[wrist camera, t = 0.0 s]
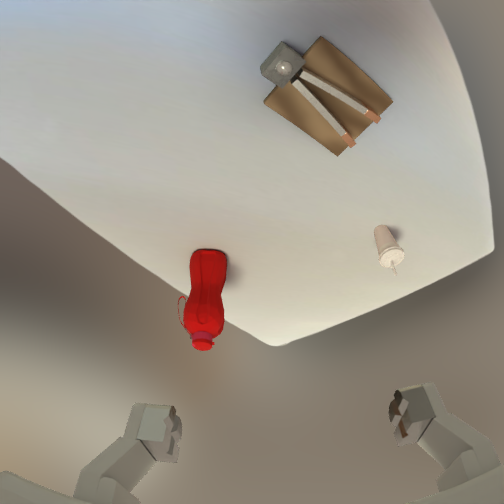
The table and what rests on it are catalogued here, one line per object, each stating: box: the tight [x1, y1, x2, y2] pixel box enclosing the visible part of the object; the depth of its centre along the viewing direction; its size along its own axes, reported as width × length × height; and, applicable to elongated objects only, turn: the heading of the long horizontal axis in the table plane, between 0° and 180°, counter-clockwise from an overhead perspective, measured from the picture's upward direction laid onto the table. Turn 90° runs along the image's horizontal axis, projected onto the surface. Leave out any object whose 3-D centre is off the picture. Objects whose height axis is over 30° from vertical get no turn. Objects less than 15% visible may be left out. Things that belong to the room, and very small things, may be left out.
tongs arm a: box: [297, 67, 381, 123], centre depth 47 cm, size 16×1×4 cm, turn 63°
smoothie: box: [374, 225, 404, 275], centre depth 70 cm, size 6×6×14 cm
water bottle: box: [179, 250, 227, 351], centre depth 73 cm, size 9×11×25 cm
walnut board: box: [264, 36, 393, 157], centre depth 50 cm, size 16×18×2 cm
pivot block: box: [260, 41, 306, 89], centre depth 44 cm, size 6×4×7 cm, turn 144°
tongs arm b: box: [290, 75, 356, 148], centre depth 49 cm, size 16×1×4 cm, turn 45°
